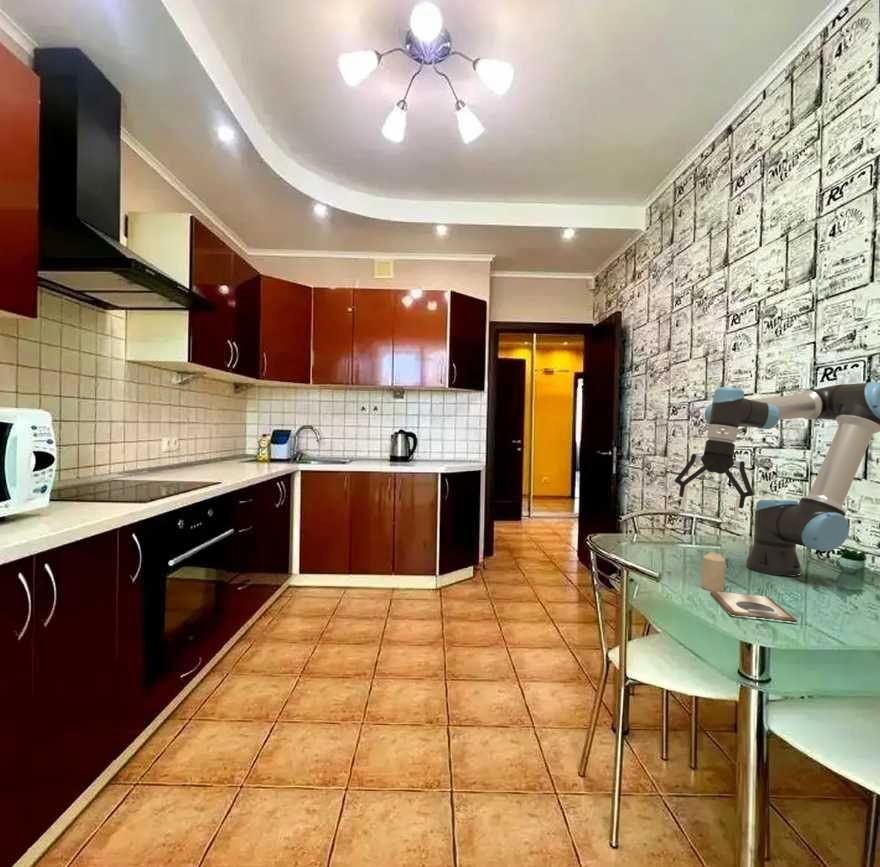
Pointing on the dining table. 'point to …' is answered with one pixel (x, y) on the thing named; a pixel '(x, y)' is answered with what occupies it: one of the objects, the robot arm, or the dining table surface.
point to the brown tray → (751, 606)
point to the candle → (713, 572)
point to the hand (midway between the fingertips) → (708, 514)
